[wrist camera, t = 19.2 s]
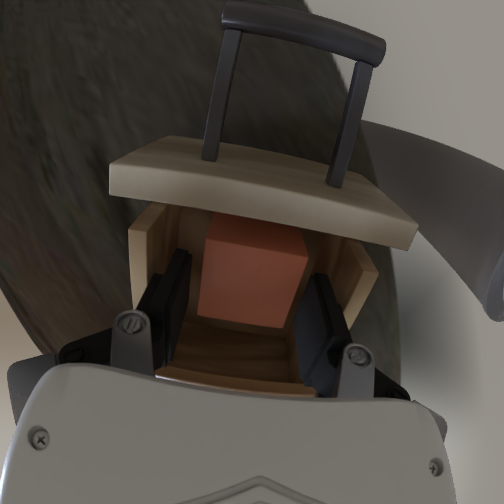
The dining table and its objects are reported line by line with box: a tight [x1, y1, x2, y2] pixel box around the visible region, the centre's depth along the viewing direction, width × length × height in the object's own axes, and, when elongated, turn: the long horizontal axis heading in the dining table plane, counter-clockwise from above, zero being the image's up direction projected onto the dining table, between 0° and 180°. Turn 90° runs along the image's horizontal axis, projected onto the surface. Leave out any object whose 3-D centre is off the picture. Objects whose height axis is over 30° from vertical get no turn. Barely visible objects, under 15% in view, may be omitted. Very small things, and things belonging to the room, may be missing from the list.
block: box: [197, 211, 309, 329], centre depth 14 cm, size 4×4×4 cm
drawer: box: [109, 0, 419, 384], centre depth 13 cm, size 20×11×7 cm, turn 169°
